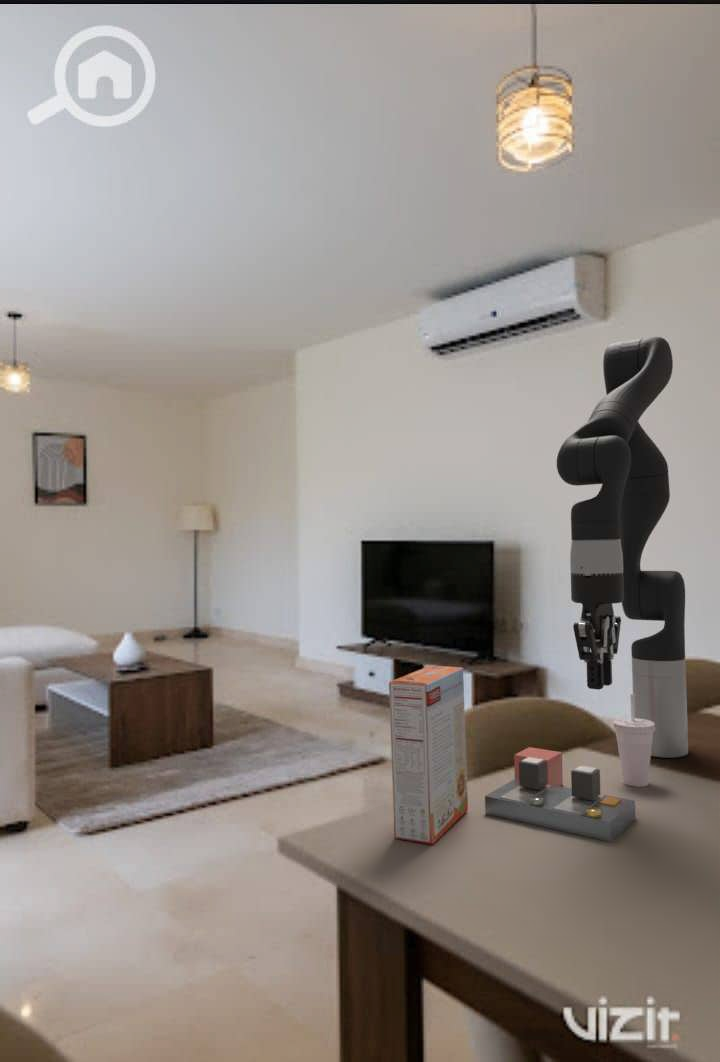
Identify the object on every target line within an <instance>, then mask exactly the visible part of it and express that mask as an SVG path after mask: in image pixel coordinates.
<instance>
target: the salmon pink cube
mask: <svg viewBox="0 0 720 1062" xmlns="http://www.w3.org/2000/svg"><path fill="white" fill-rule="evenodd" d="M513 757H514V758H513V759H514V763H513V764H514V766H513V767H514V779H516V778H517V779H519V762H520V761H522V760H524V759H526V758H528V757H532V758H538V759H544V760H546V761H547V784H549V785H554V786H559V787H562V785H564V780H563V779H564V777H563V752H561V751H555V750H549V749H545V748H536V747H530V746H529V747H527V748H525V749H523V750H521V751H519V752H516V753H514V756H513Z"/></svg>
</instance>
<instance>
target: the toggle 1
mask: <svg viewBox="0 0 720 1062" xmlns="http://www.w3.org/2000/svg"><path fill="white" fill-rule="evenodd" d="M545 785H547V761H546V760H544V759H538V758H532V757H528V758H526V759H524V760H522V761H520V762H519V786H522V787H527V788H532V789H537V790H539V789H541V788H542V787H544V786H545Z"/></svg>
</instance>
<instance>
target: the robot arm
mask: <svg viewBox="0 0 720 1062" xmlns="http://www.w3.org/2000/svg"><path fill="white" fill-rule="evenodd" d="M602 361H603V363H602V366H603V367H602V368H603V378H604V387H605V393H606V395H605V396H604V397H602V399H600V401H599V402H598V403H597V405H596V406H595V408H594V409H593V410H592V413H591V415H590V417H589V418H588V420H587V422H586V423H584V424H583V425H581V426H580V427H579V428H578V429H576V430H575V431H574V432H573V433H571V435H569V436H568V437H567V438H566V439H565V440H564V442H563V443H562V445H561V446H560V448H559V450H558V453H557V457H556V469H557V474H558V475H559V477H560V478H561V480H562V481H564V482H565V483H566V484H568V485H570V486H577V487H579V486H592V485H601V487H600V490H599V491H598V493H597V495H596V496H594V497H592V498H588V499H585V500H581V501H578V502H576V503H574V504H573V506H571V510H570V528H571V529H570V530H571V531H570V532H571V537H570V538H571V546H570V555H569V557H570V559H569V560H570V561H569V563H570V565H569V566H570V595H571V597H570V598H571V599H570V600H571V601H572V602H573V603H576V604H581V605H582V608H581V616H580V622H574V623H573V632H574V638H575V643H576V647H577V652H578V659H579V660H580V661H583V662H584V663H586V687H587V688H588V689H591V690H599V691H600V690H602V689H603V688H604V686H606V687H607V686H608V687H609V686H611V685H612V684H613V667H612V664H613V662H612V661H614V658H615V655H617V654H618V652H619V642H620V634H621V633H620V631H621V624H622V618H621V616H618V615H617V616H615V613H614V612H615V611H614V608H613V604H621V607H622V611H623V613H624V615H625V617H626V618H628V619H629V620H635V621H655V622H656V621H661V622H664V624H663V628H662V629H660V631H658V632H656V633H655V634H652V635H650V636H646V637H643V638H639V639H636V640H634V641H633V642H632V644H631V653H630V654H631V673H632V694H634V711H635V718H638V719H645V720H649V721H652V722H654V723H655V731H653V739H652V749H651V757H654V758H655V757H657V758H669V759H671V758H681V757H685V756H687V755H688V754H689V741H688V737H689V735H688V730H689V729H688V704H687V702H688V701H687V697H688V696H687V672H686V671H687V669H686V668H687V667H686V642H685V641H686V639H685V638H686V633H685V632H686V631H685V622H686V621H685V620H686V619H685V618H686V617H685V614H686V585H685V579H684V578H683V576H682V574H681V572H679V571H677V570H642V569H641V560H642V556H643V555H642V554H643V552H644V550H645V549H644V548H645V547H646V544H647V542H648V540H649V538H650V536H651V534H652V532H653V531H654V529H655V527H656V526H657V525H658V523H659V521H660V520H661V518H662V517H663V515H664V514H665V511H666V509H667V507H668V505H669V502H670V498H671V493H670V492H671V491H670V478H669V466H668V462H667V460H666V457H665V456H664V454H663V452H662V451H661V450H660V448H659V447H658V446H657V445H656V444H655V442H654V441H653V440H652V438H651V437H650V436H649V435H648V434H647V432H646V431H645V430H644V429H643V427H642V425H641V424H640V422H639V420H640V418H641V417H642V416H643V414H644V413H645V411H646V410H647V409H648V408H649V407H650V406H651V405H652V403H653V402H655V400H656V399H657V398H658V396H659V395H660V394H661V392H663V391H664V389H665V388H666V387H667V385H668V384H669V382H670V379H671V377H672V375H673V366H674V364H673V362H674V361H673V353H672V348H671V346H670V343H669V342H668V341H667V340H666V339H665V338H663V337H662V336H649V337H643V338H636V339H632V340H624V341H618V342H614V343H611V344H609V345H607V346H606V348H605V350H604V354H603V360H602Z"/></svg>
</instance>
